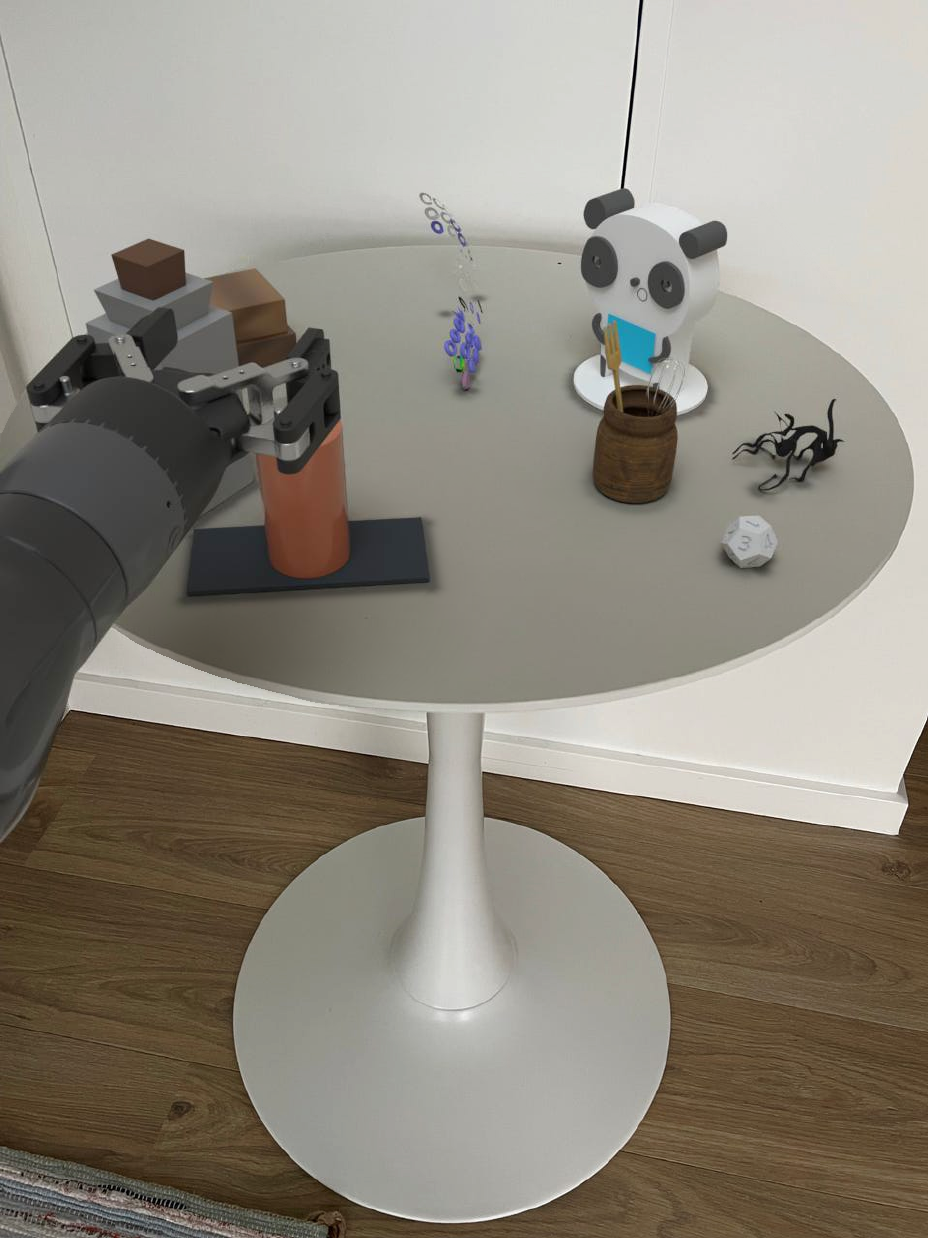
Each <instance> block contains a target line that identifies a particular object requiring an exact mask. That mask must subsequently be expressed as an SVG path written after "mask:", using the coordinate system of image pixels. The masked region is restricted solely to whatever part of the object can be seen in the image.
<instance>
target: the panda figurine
mask: <svg viewBox="0 0 928 1238" xmlns="http://www.w3.org/2000/svg"><path fill="white" fill-rule="evenodd" d="M635 203H636V202H635V197H634V195H633V193H632V191H631V190H630V189H629V188H625V187H623V188H619V189H617V190H613V191H610V192H608V193H605V194H602V195H599V196H596V197H593V198H590V199H589V200H588V201H587V202H586V204H585V206H584V209H583V221H584V224H585V225H586V227H587V228H589V229H590V230H593V233H592V234H591V236H590V237H589V238H588V239H587V241H586V242H585V245H584V247H583V250H582V253H581V258H580V273H581V276H582V278H583V280H584V281H585V285H586V287H587V290H588V293H589V295H590V297H591V300H592V302H593V304H594V305H595V307H596V308H597V310H598V313H596V314H595V315H594V316H593V318H592V320H591V328H592V332H593V334H594V336H595V337H596V339H597V340H598V341H599V343H600V353H599V354H597V355H594V356H592V357H589V358H588V359H586V360H584V361H583V362H582V363H580V365H578V366H577V368H576V369H575V371H574V374H573V387H574V389H575V391H576V393H577V395H579V397H580V398H581V399H582V400H584V401H585V402H586V403H588V404H589V405H591V406H593V407H594V408H596V409H598V410H600V411H603V410H604V405H605V402H606V399H607V396H608V395H609V394H610V393H611V392H612V391H613V390H615V384H614V376H613V371H612V370H610V369H608V367H607V360H606V350H605V340H604V330H603V328H604V327H607V331H608V324H609V323H611V324H612V331H613V321H614V320H615V321H616V324H617V330H618V337H619V344H620V351H621V358H622V361H621V364H620V366H619V368H618V373H619V381H620V387H623V386H629V385H645V386H648V385H649V386H651V387H655V388H657V385H659V387H658V389H661V390H663V391H665V392H667V391H668V389H669V387H670V389H669V391H668V394H669V392H670V390H671V392H670V395H671V396H672V397H673V398H674V397H675V396H676V397H675V398H674V400H675V399H676V398H677V399H676V405H677V417H678V416H682V415H684V414H687V413H690V412H692V411H694V410H695V409H697V408H698V407H700V406H701V405H702V403H703V402H704V401H705V400H706V398H707V395H708V388H709V386H708V381H707V379H706V377H705V375H704V374H703V372H701V371H700V370H699V369H698V368H697V367H695V366H694V365H693V364H690V356H691V349H692V342H693V338H694V337H693V336H694V329H695V325H696V324H697V323H698V322H700V321H702V320H703V319H704V318H706V317H707V315H709V313H710V312H711V311H712V309H713V308H714V305H715V303H716V301H717V297H718V295H719V290H720V281H721V277H720V260H719V254H718V253H719V252H718V250H719V249H721V248H724V247H725V246H726V245H727V241H728V229H727V227H726V226H725V224H724V223H723V222H721V221H719V220H711V221H709V222H706V223H704V224H703V223H702V221H700V220H699V219H697V217H695V216H693V215H691V214H690V213H688V212H685V211H684V210H681V209H680V208H677V207H675V206H672V205H669V204H663V203H657V202H656V203H655V202H648V203H643V204H641V205H638V206H635V205H636V204H635ZM613 337H614V332H613ZM608 338H609V331H608ZM609 344H610V341H609ZM614 344H615V342H614ZM669 357H672V358H673V359H672V358H669ZM663 358H669V359H668V360H670V359H672V360H675V359H676V362H677V361H679V362H677V363H678V364H679V365H680V366H681V368H682V370H681V368H680V366H679V365H678V367H677V363H676V362H675V366H674V362H672V361H668V360H667V359H663ZM661 359H662V360H661ZM677 359H678V360H677ZM659 360H661V361H659ZM666 360H667V362H666V364H665V361H666ZM658 361H659V362H658ZM657 362H658V363H657ZM663 362H664V363H663ZM671 362H672V363H671ZM680 362H681V363H682V364H683V365H684V367H683V365H682V364H681V363H680ZM656 363H657V365H656ZM661 363H662V364H661ZM670 363H671V364H670ZM660 364H661V365H660ZM664 364H665V366H664ZM669 364H670V365H669ZM655 365H656V367H657V366H658V365H659V366H658V367H657V368H656V367H655ZM668 365H669V366H668ZM654 367H655V369H656V370H655V369H654ZM663 367H664V369H663ZM667 367H668V368H667ZM666 368H667V369H666ZM676 368H677V370H676ZM684 368H685V374H684ZM653 370H655V371H654V374H653V376H652V379H651V381H650V378H651V375H652V372H653ZM662 370H663V372H662ZM665 370H666V371H665ZM664 371H665V373H664ZM675 371H676V373H675ZM682 371H683V374H682ZM661 373H662V374H661ZM663 373H664V375H663ZM674 373H675V378H673V376H674ZM660 375H661V377H662V375H663V377H662V379H661V377H660ZM683 376H684V378H683ZM659 378H660V380H661V382H660V380H659ZM672 379H673V380H674V382H673V381H672ZM682 379H683V383H682V386H681V389H679V388H680V385H681V382H682ZM649 381H650V384H649ZM658 382H660V384H658ZM671 382H672V383H673V386H672V384H671ZM670 385H671V386H670ZM671 387H672V389H671ZM678 390H680V392H678ZM677 392H678V393H679V395H678V393H677ZM676 394H677V395H678V397H677V395H676Z"/></svg>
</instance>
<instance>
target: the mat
mask: <svg viewBox="0 0 928 1238" xmlns="http://www.w3.org/2000/svg"><path fill="white" fill-rule="evenodd" d="M192 535H193V536H192V538H193V539H192V544H191V554H190V559H189V560H190V561H189V567H188V568H189V569H188V575H187V576H188V577H187V585H186V595H187V596H188V597H191V596H193V597H194V596H207V595H225V594H226V595H227V594H242V593H259V592H261V593H262V592H276V591H279V592H280V591H296V590H311V589H312V590H313V589H314V590H315V589H330V588H344V587H345V588H348V587H365V586H378V585H379V586H382V585H383V586H384V585H399V584H414V583H415V584H417V583H418V584H419V583H430V571H429V566H428V558H427V557H428V556H427V551H426V543H425V536H424V529H423V521H422V517H421V516H420V517H419V516H418V517H417V516H416V517H400V518H399V517H398V518H381V519H380V518H379V519H362V520H360V519H359V520H349V535H350V557H349V559H348V561H347V562H346V564H345V565H344V566H343V567H341V568H340V569H339V570H337V571H335V572H333V573H331V574H329V575H326V576H323V577H318V578H308V579H304V578H294V577H290V576H287V575H284V574H282V573H280V572H279V571H277V570H276V569H275V568H274V567H273V566H272V565H271V563H270V561H269V558H268V550H267V542H266V534H265V526H264V525H247V526H228V527H208V528H194V529H193V534H192Z"/></svg>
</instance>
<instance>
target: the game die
mask: <svg viewBox="0 0 928 1238" xmlns="http://www.w3.org/2000/svg"><path fill="white" fill-rule="evenodd" d="M720 543H721V546H722V547H723V549H724V551H725V552H726V555H727V557H728V558H729V559H730V560H731V561H732V562H733V563H734V564H735V565H737V566H738V567H739V569H748V568H760V567H761V566H763V565H765V564H766V563H767V562H768V561H770V560H772V557H773V555H774V553H775V550H776V548H777V545H778V544H779V540H778V538H777V536H776V533H775V532H774V530H773V528H772V525H770V524H769V523H768V522H767V521H765V519H763V517H761V516H760V515H744V516H738V517H737V518H736V519H735V520H734V521H732V522H731V523H730V524H728V526H727V528H726V530H725V532H724V535H723V537H722V540H721V542H720Z"/></svg>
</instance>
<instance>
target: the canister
mask: <svg viewBox="0 0 928 1238" xmlns="http://www.w3.org/2000/svg"><path fill="white" fill-rule="evenodd" d="M254 454H255V461H256V470H257V477H258V485H259V492H260V493H259V494H260V501H261V509H262V510H261V511H262V517H263V524H264V526H265V534H266V542H267V550H268V558H269V561H270V563H271V565H272V566H273V567H274V568H275V569H276V570H277V571H279V572H280V573H282V574H284V575H287V576H290V577H294V578H304V579H308V578H318V577H323V576H326V575H329V574H331V573H333V572H335V571H337V570H339V569H340V568H341V567H343V566H344V565H345V564H346V562H347V561H348V559H349V557H350V535H349V521H350V520H349V505H348V492H347V491H348V490H347V489H348V488H347V477H346V476H347V475H346V462H345V461H346V460H345V459H346V458H345V445H344V428H343V423H342V420H341V419H340V420H339V422H338V423H337V424H336V426H335V427H334V428H333V430H332V431H331V432H330V433H329V435H328V436H327V437H326V439H325V440H324V441H323V443H322V444H321V445H320V447H319V448H318V449H317V451H316V452H315V453H314V455H313V456H312V457H311V458H310V460H309V461H308V462H307V464H306V465H305V466H304V468H303V469H302V470H301V471H300V472H298V473H296V474H283V473H281V472H279V471H278V469H277V460H276V457H273V456H268V455H263V454H257V453H254Z"/></svg>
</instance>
